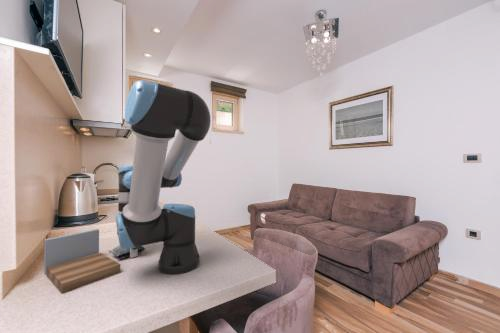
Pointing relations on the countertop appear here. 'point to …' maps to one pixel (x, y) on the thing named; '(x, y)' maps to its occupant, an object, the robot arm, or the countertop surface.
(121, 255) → the packaged food
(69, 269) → the plinth
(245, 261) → the countertop surface
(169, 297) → the countertop surface
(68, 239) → the backboard
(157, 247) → the countertop surface
